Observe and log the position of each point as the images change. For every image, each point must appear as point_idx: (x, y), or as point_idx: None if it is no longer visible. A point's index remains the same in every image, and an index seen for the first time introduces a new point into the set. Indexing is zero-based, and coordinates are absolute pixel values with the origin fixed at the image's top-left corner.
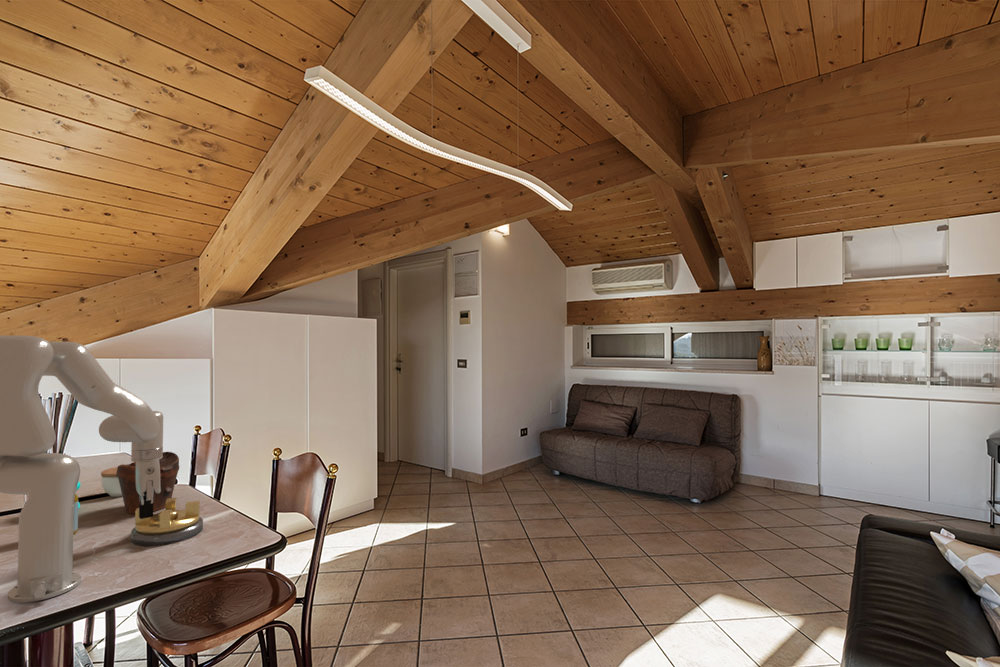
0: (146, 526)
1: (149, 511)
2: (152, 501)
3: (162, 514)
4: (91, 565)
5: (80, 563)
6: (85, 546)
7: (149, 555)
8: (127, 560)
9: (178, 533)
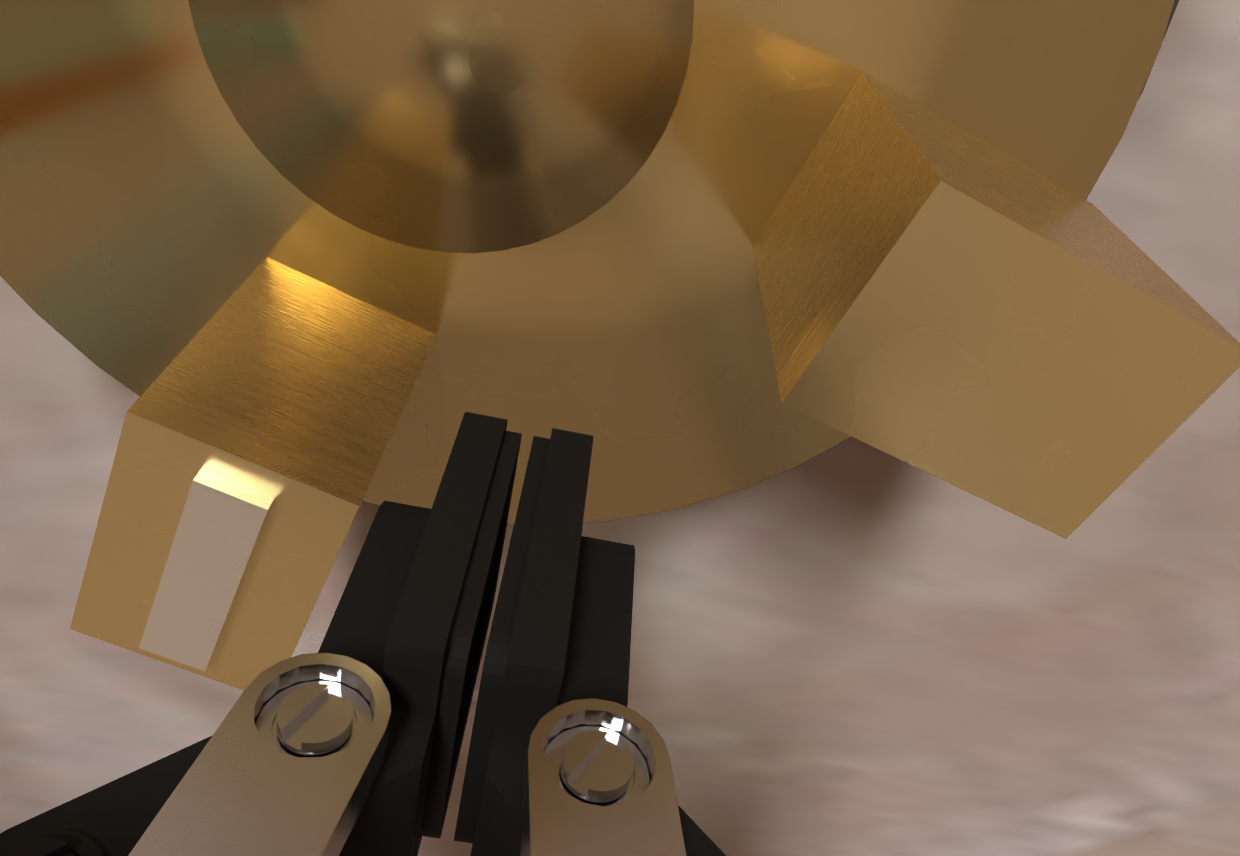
0: (634, 443)
1: (624, 600)
2: (669, 792)
3: (1100, 487)
4: (849, 793)
5: (708, 817)
6: (237, 695)
7: (1173, 454)
8: (1059, 620)
9: (1167, 26)
